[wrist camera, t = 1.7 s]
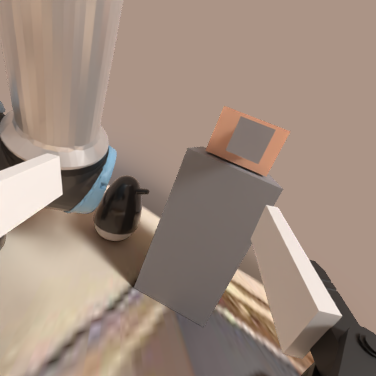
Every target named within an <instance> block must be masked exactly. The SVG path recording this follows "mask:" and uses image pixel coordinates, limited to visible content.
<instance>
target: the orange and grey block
mask: <svg viewBox="0 0 376 376" xmlns="http://www.w3.org/2000/svg"><path fill="white" fill-rule="evenodd" d="M289 133H290V131H288V130H285V129H283V128H280V127H278V126H275V125H272V124H270V123H267V122H265V121H262V120H259V119H257V118H254V117H252V116H249V115H247V114H244V113H241V112H239V111H236V110H234V109H231V108H228V107H226V106H224V107H223V110H222V112H221V114H220V117H219V119H218V122H217V124H216V127H215V129H214V131H213V134H212V136H211V139H210V141H209V143H208V146H207V148H206V151H207V152H210V153H212V154H214V155H217V156H219V157H221V158H224V159H226V160H228V161H231V162H233V163H235V164H238V165H240V166H242V167H245V168H247V169H249V170H252V171H254V172H256V173H259V174H261V175H263V176H267V175H268V172H269V170H270V169H271V167H272V165H273V163H274V161H275V159H276V158H277V156H278V154H279V152H280V150H281V148H282V146H283V145H284V143H285V141H286V139H287V137H288V135H289Z"/></svg>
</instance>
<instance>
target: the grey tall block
mask: <svg viewBox="0 0 376 376" xmlns="http://www.w3.org/2000/svg"><path fill="white" fill-rule="evenodd" d="M282 190H283V189H282V188H281V187H280V186H279V184H277V182H276V181H275V180H274V179H273V178H272V177H271V176H270V175H267V176H263V175H261V174H259V173H256V172H254V171H252V170H249V169H247V168H245V167H242V166H240V165H238V164H235V163H233V162H231V161H228V160H226V159H224V158H221V157H219V156H217V155H214V154H212V153H210V152H207V151H206V148H204V147H194V148H188V149H187V151H186V154H185V156H184V159H183V162H182V164H181V167H180V169H179V172H178V175H177V177H176V180H175V183H174V185H173V188H172V190H171V193H170V195H169V198H168V201H167V203H166V206H165V208H164V211H163V213H162V216H161V219H160V221H159V224H158V226H157V229H156V232H155V234H154V237H153V239H152V242H151V245H150V247H149V250H148V252H147V255H146V258H145V260H144V263H143V265H142V268H141V271H140V273H139V276H138V278H137V281H136V283H135V286H134V288H135V289H137V290H139V291H140V292H142V293H144V294H146V295H147V296H149V297H151V298H153V299H155V300H156V301H158V302H160V303H162V304H163V305H165V306H167V307H169V308H170V309H172V310H174V311H176V312H177V313H179V314H181V315H183V316H184V317H186V318H188V319H190V320H191V321H193V322H195V323H197V324H199V325H200V326H202V327H204V326H205V324H206V323H207V321H208V319H209V317H210V316H211V314H212V312H213V310H214V309H215V307H216V305H217V303H218V302H219V300H220V298H221V296H222V295H223V293H224V291H225V289H226V288H227V286H228V284H229V282H230V281H231V279H232V277H233V276H234V274H235V272H236V270H237V269H238V267H239V265H240V263H241V262H242V260H243V258H244V256H245V255H246V253H247V251H248V249H249V248H250V246H251V244H252V242H251V237H252V235H253V232H254V230H255V228H256V226H257V224H258V221H259V219H260V217H261V215H262V213H263V211H264V208H265V206H266V205H269V206H274V204H275V202H276V201H277V199H278V197H279V195H280V194H281V192H282Z"/></svg>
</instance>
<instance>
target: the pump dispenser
mask: <svg viewBox="0 0 376 376" xmlns="http://www.w3.org/2000/svg"><path fill="white" fill-rule="evenodd" d="M148 193H149V190H147V189H142V188H140V185H139V182H138V181H137V180H136V179H135V178H134V177H131V176H127V175H126V176H121V177H119V178H118V179H116V180H115V181H114V182H113V183H112V184H111V185H110V187H109V188H108V189H107V190H106V192H105V193H104V195H103V198H102V200H101V202H100V203H99V205H98V207H97V208H96V210H95V213H94V217H93V221H94V225H95V229H96V231H97V232H98V234H99V235H100V236H102V237H103V238H105V239H107V240H111V241H120V240H124V239H126V238H128V237H129V236H130V235H132V233H133V232H134V231H135V230H136V229H137V228H138V225H139V222H140V217H141V210H142V195H141V194H148Z"/></svg>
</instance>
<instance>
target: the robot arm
mask: <svg viewBox="0 0 376 376" xmlns="http://www.w3.org/2000/svg"><path fill="white" fill-rule="evenodd" d="M122 5H123V0H0V40H1V46H2V50H3V57H4V62H5V68H6V73H7V79H8V84H9V90H10V95H11V101H12V107H13V110H12V111H10V112H9V113H7V114H6V115H4V114H3V112H5V109H4V106H3V104H2V102H1V101H0V250H1V248H2V247H3V245H4V243H5V239H6V233H8V232H9V231H11V230H12V229H13V228H15V227H16V226H18V225H19V224H21V223H22V222H24V221H25V220H26V219H28V218H29V217H31V216H32V215H34V214H35V213H37V212H38V211H39V210H41V209H42V208H50V209H56V210H61V211H64V212H66V213H71V212H74V213H83V214H87V213H91V212H93V211H94V210H95V209H96V208H97V207H98V205H99V203H100V202H101V200H102V198H103V195H104V193H105V191H106V186H107V185H108V182H109V180H110V178H111V175H112V172H113V168H114V165H115V161H116V155H117V154H116V150H115V149H114V148H112V147H110V146H109V140H108V136H107V133H106V132H105V130H104V129H103V127H102V126H101V125H100V124H101V119H102V113H103V108H104V102H105V97H106V92H107V85H108V81H109V75H110V70H111V64H112V59H113V53H114V48H115V43H116V37H117V31H118V26H119V21H120V15H121V9H122ZM251 242H252V245H253V249H254V252H255V256H256V259H257V263H258V267H259V270H260V274H261V278H262V281H263V285H264V288H265V292H266V296H267V299H268V303H269V306H270V310H271V314H272V317H273V321H274V324H275V328H276V332H277V335H278V339H279V342H280V346H281V350H282V353H283V354H285V355H289V356H293V357H298V358H303V357H304V356H305V355H306V354H307V353H308V352H309V351H311V354H312V356H313V359H314V361H315V362H314V363H313V364H312V365H311V366H310V367H309V368H308V369H307V370H306V371H305V372H304V373H303V374H302V375H301V376H376V335H375V334H374V333H373V332H371V331H369V330H368V329H366V328H364V327H361V326H360V325H359V324H358V322H357V321H356V319H355V318H354V316H353V314H352V313H351V311H350V310H349V308H348V307H347V305H346V304H345V302H344V301H343V299H342V297H341V296H340V294H339V293H338V292H337V291H336V288H335V286H334V285H333V283H331V280H330V279H329V277H328V276H327V274H326V272H325V271H324V270H323V269H322V268H321V267H320V266H319V265H318V264H317V263H316V262H315V261H312V260H309V259H308V258H307V256H306V254H305V252H304V251H303V249H302V247H301V245H300V244H299V242H298V240H297V239H296V237H295V235H294V234H293V232H292V230H291V229H290V227H289V225H288V224H287V222H286V220H285V218H284V217H283V215H282V214H281V212H280V210H279V208H277V207H273V206H269V205H266V206H265V208H264V211H263V213H262V215H261V217H260V219H259V221H258V224H257V226H256V228H255V230H254V232H253V235H252V237H251Z"/></svg>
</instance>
